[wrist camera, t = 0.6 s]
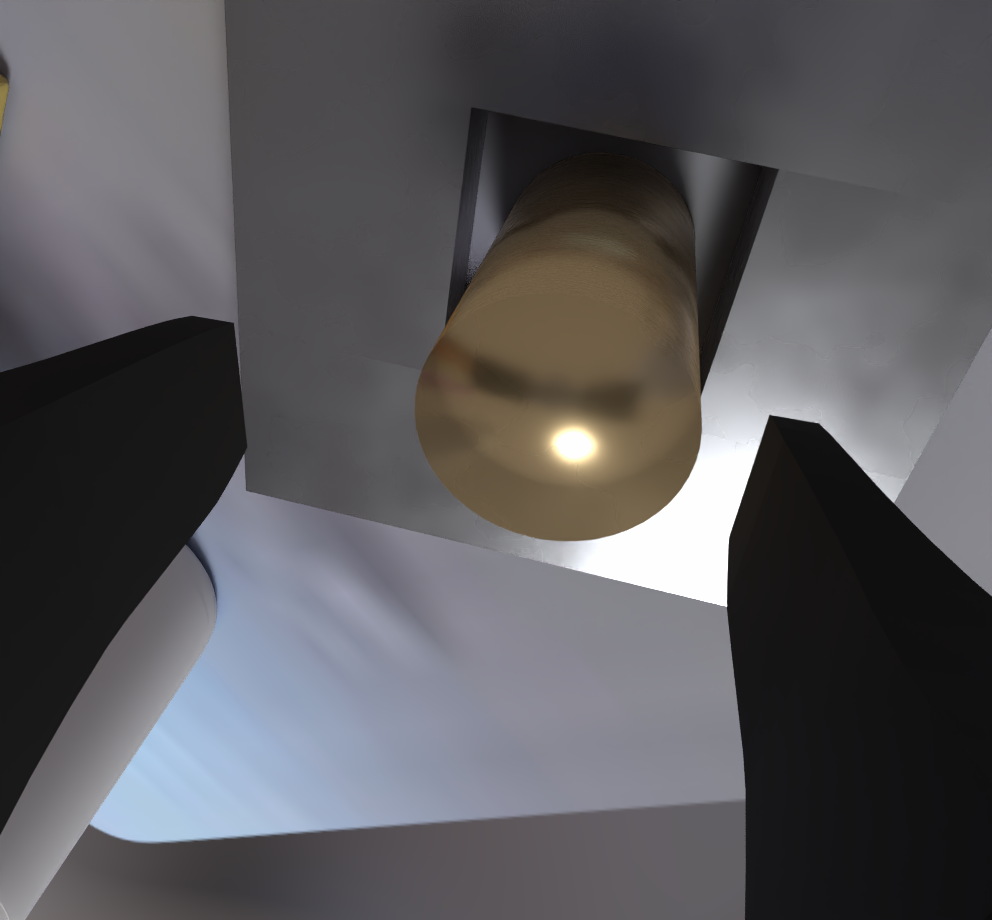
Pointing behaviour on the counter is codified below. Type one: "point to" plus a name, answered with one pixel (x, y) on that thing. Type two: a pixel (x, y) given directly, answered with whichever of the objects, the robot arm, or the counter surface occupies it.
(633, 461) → the end plug
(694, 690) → the counter surface
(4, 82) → the candy box
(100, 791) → the pill bottle
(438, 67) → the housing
